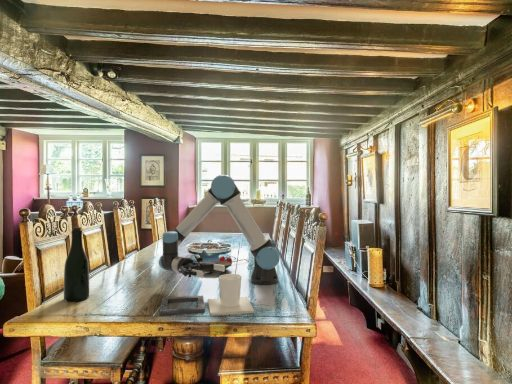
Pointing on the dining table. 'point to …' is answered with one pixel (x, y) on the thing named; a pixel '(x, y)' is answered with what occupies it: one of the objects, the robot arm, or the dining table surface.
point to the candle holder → (229, 290)
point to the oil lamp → (227, 264)
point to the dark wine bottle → (76, 270)
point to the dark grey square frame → (182, 310)
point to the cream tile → (240, 309)
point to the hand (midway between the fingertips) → (213, 271)
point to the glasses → (228, 259)
